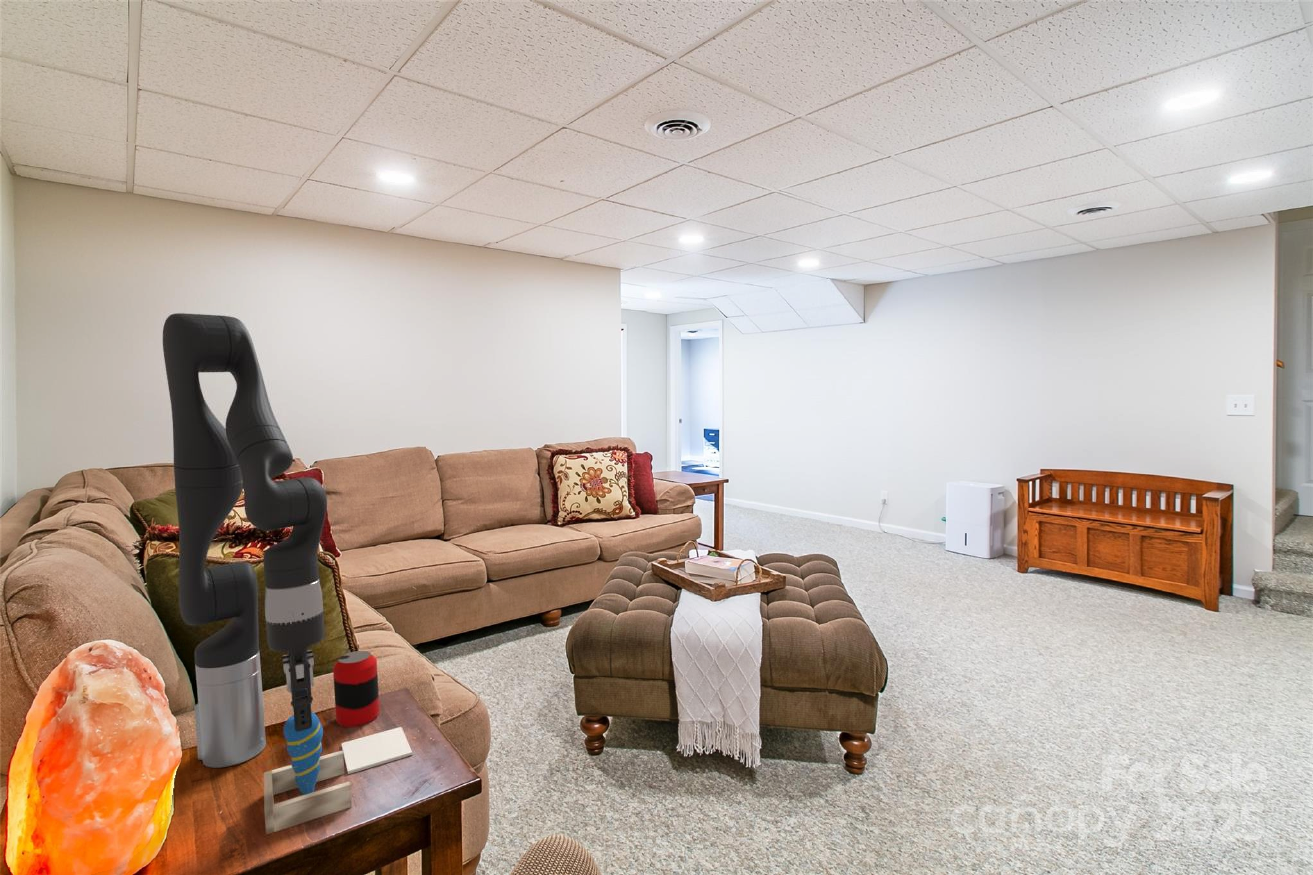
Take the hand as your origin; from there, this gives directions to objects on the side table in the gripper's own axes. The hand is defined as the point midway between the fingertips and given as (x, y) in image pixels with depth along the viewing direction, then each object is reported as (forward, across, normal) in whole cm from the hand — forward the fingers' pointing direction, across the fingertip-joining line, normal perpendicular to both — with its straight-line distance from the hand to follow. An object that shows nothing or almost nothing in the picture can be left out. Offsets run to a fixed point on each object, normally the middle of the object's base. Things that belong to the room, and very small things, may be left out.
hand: (302, 717), depth 97 cm
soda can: (+13, +24, -10) cm, 29 cm away
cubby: (+13, 0, 0) cm, 13 cm away
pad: (+13, +10, -11) cm, 20 cm away
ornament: (+14, 0, 0) cm, 14 cm away
